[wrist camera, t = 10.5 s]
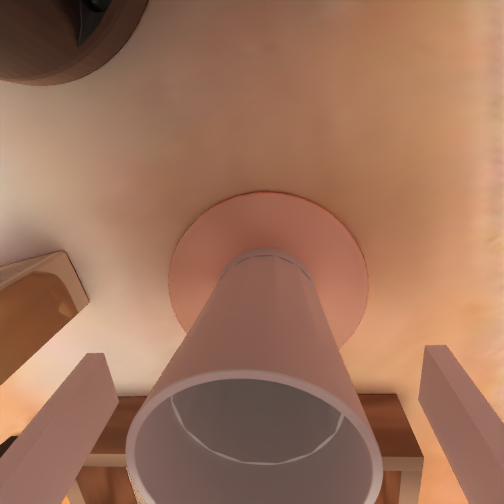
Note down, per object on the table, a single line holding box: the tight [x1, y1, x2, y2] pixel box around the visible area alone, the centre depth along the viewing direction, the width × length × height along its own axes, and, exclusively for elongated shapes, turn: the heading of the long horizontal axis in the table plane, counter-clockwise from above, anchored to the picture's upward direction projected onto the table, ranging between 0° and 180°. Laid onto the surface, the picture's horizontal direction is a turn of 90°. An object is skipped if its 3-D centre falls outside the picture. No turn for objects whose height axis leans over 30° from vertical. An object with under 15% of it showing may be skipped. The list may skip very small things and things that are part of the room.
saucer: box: [169, 192, 369, 349], centre depth 22 cm, size 13×13×1 cm
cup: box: [125, 247, 383, 504], centre depth 16 cm, size 8×8×12 cm
